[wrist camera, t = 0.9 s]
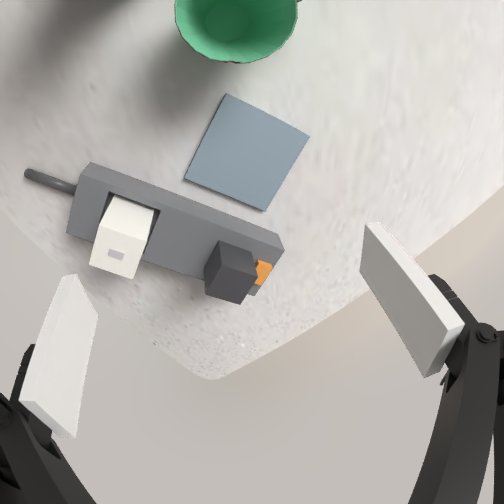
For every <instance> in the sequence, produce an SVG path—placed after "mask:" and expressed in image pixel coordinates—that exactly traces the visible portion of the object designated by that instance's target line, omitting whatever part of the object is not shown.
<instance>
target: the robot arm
mask: <svg viewBox="0 0 504 504" xmlns="http://www.w3.org/2000/svg"><path fill="white" fill-rule="evenodd" d="M360 273H361V275H362V276H363V278H364V279H365V281H366V282H367V284H368V286H369V287H370V289H371V290H372V292H373V293H374V295H375V297H376V298H377V300H378V301H379V303H380V304H381V306H382V308H383V309H384V311H385V313H386V314H387V316H388V317H389V319H390V321H391V322H392V324H393V326H394V327H395V329H396V331H397V332H398V334H399V336H400V337H401V339H402V341H403V342H404V344H405V346H406V347H407V349H408V351H409V353H410V354H411V356H412V358H413V360H414V361H415V363H416V365H417V367H418V368H419V370H420V372H421V374H422V376H423V377H424V378H426V377H428V376H431V375H433V374H435V373H438V372H440V370H441V368H442V367H443V365H444V363H446V365H447V367H448V368H449V369H448V371H447V373H446V374H445V376H444V378H443V379H442V381H441V383H440V385H443V383H444V382H445V383H444V388H443V393H442V397H441V402H440V406H439V410H438V414H437V419H436V422H435V426H434V430H433V433H432V436H431V440H430V443H429V446H428V450H427V453H426V456H425V459H424V462H423V465H422V468H421V471H420V474H419V477H418V480H417V482H416V485H415V487H414V490H413V493H412V495H411V498H410V500H409V503H408V504H477V501H478V498H479V494H480V490H481V486H482V483H483V479H484V475H485V471H486V466H487V462H488V457H489V451H490V446H491V441H492V435H493V436H494V498H493V504H504V331H496V329H494V328H493V327H492V326H491V325H488V324H486V323H478V322H477V320H476V319H475V318H474V317H473V315H472V314H471V313H470V311H469V310H468V309H467V308H466V307H465V305H464V304H463V303H462V301H461V300H460V299H459V298H457V295H456V294H455V293H454V291H452V289H451V288H450V287H449V286H448V284H447V283H446V282H445V281H444V280H443V279H441V278H440V277H438V276H437V275H435V274H433V275H429V276H427V275H426V274H425V272H424V271H423V270H422V269H421V268H420V266H419V265H418V264H417V263H416V262H415V261H414V259H413V258H412V257H411V256H410V255H409V254H408V252H407V251H406V250H405V249H404V248H403V247H402V246H401V244H400V243H399V242H398V241H397V240H396V239H395V238H394V237H393V235H392V234H391V233H390V232H389V231H388V230H387V229H386V228H385V227H384V226H383V225H382V223H381V222H374V223H368V224H365V231H364V240H363V249H362V257H361V265H360ZM97 321H98V315H97V313H96V311H95V309H94V307H93V305H92V304H91V302H90V300H89V298H88V296H87V294H86V292H85V290H84V288H83V286H82V284H81V282H80V280H79V278H78V276H77V273H76V274H71V275H65V276H63V277H62V279H61V281H60V284H59V286H58V289H57V291H56V293H55V295H54V298H53V300H52V303H51V305H50V308H49V310H48V313H47V315H46V318H45V320H44V323H43V326H42V328H41V331H40V334H39V336H38V339H37V342H36V344H31V345H30V347H29V348H28V349H27V351H26V352H25V353H24V356H23V359H22V362H21V366H20V368H19V371H18V375H17V377H16V380H15V384H14V387H13V390H12V394H11V397H10V401H8V399H7V398H6V397H5V396H4V395H3V394H2V393H0V504H96V502H95V501H94V500H93V498H92V497H91V496H90V494H89V493H88V492H87V490H86V489H85V487H84V486H83V485H82V483H81V482H80V480H79V479H78V477H77V476H76V475H75V473H74V471H73V470H72V468H71V467H70V465H69V464H68V462H67V461H66V459H65V457H64V456H63V454H62V453H61V451H60V449H59V448H58V446H57V444H56V443H55V441H54V440H53V439H52V438H51V434H52V431H53V432H54V433H56V434H57V435H58V436H59V437H62V438H76V433H77V426H78V419H79V411H80V405H81V399H82V393H83V388H84V382H85V377H86V371H87V366H88V361H89V357H90V352H91V347H92V343H93V338H94V334H95V330H96V326H97Z"/></svg>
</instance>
